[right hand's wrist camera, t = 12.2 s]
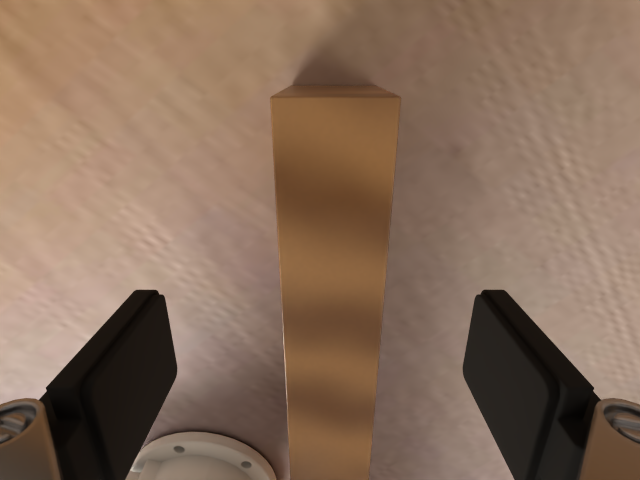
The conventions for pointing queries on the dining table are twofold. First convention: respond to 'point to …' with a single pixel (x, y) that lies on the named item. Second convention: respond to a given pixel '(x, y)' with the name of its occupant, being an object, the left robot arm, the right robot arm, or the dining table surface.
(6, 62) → the dining table surface
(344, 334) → the bar
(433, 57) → the dining table surface
